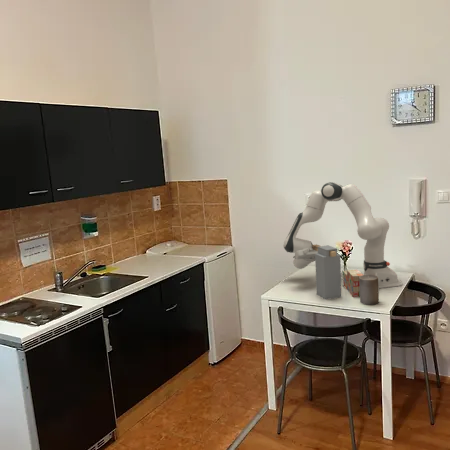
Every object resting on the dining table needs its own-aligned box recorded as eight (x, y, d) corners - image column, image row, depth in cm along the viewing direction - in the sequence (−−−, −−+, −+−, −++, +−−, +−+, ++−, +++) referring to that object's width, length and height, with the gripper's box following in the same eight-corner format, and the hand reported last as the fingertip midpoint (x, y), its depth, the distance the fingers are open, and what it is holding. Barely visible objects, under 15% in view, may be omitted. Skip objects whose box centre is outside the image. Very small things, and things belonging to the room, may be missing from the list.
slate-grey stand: (316, 294, 257) (314, 247, 252) (332, 291, 260) (330, 244, 255) (325, 299, 247) (323, 250, 243) (341, 296, 250) (340, 248, 246)
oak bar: (312, 249, 263) (312, 244, 263) (316, 248, 264) (316, 244, 264) (331, 256, 243) (331, 252, 242) (336, 256, 243) (336, 251, 243)
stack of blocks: (343, 285, 270) (342, 265, 268) (353, 285, 270) (353, 265, 268) (353, 297, 249) (352, 275, 247) (364, 296, 249) (364, 275, 247)
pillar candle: (379, 299, 242) (378, 272, 240) (378, 305, 233) (377, 277, 231) (360, 298, 246) (359, 272, 243) (359, 304, 237) (358, 277, 234)
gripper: (290, 253, 272) (298, 245, 260) (320, 249, 278) (330, 241, 265) (293, 263, 270) (301, 256, 258) (323, 258, 276) (333, 251, 263)
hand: (316, 248), depth 262 cm, fingers open, 8 cm apart
